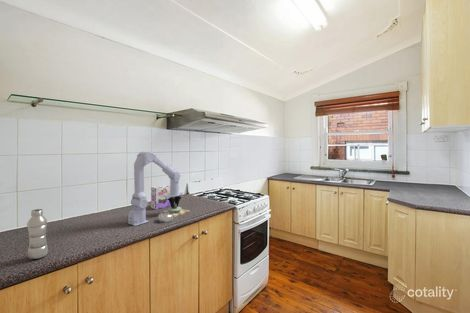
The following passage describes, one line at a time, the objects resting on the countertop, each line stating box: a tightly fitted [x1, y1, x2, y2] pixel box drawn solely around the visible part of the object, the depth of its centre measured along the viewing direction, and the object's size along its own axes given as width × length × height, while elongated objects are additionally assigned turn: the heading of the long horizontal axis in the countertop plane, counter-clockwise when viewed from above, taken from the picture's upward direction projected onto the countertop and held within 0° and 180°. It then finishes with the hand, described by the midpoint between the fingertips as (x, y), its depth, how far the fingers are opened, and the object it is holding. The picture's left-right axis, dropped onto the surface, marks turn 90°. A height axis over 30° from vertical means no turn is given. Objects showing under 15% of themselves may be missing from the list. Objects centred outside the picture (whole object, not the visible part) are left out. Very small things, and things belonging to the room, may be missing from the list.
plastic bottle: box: [26, 208, 49, 260], centre depth 94 cm, size 6×7×20 cm
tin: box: [158, 212, 174, 224], centre depth 143 cm, size 9×9×4 cm
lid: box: [167, 203, 183, 212], centre depth 159 cm, size 10×10×4 cm
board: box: [158, 208, 191, 218], centre depth 159 cm, size 16×14×1 cm
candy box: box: [150, 184, 171, 211], centre depth 173 cm, size 14×6×16 cm, turn 143°
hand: (174, 207), depth 159 cm, fingers closed on lid, 3 cm apart
